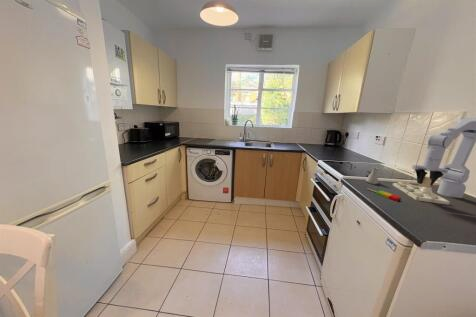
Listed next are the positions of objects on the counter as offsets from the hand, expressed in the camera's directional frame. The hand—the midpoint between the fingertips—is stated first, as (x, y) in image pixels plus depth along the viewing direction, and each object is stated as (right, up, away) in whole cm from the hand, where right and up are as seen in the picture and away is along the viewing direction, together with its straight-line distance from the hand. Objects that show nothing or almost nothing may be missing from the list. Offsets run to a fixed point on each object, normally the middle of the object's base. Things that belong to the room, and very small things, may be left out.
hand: (424, 183), depth 97 cm
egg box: (+4, -7, +8) cm, 12 cm away
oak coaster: (+11, -4, +24) cm, 26 cm away
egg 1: (0, -1, 0) cm, 1 cm away
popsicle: (-19, -7, +4) cm, 21 cm away
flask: (-11, -3, +23) cm, 25 cm away
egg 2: (+7, -7, +7) cm, 13 cm away
